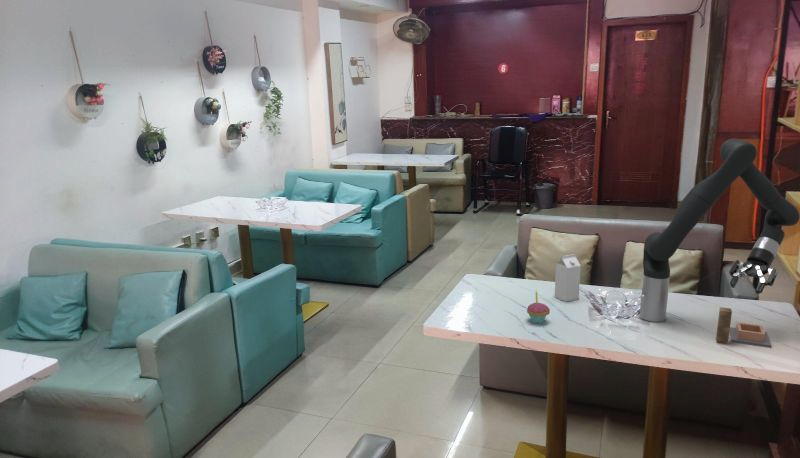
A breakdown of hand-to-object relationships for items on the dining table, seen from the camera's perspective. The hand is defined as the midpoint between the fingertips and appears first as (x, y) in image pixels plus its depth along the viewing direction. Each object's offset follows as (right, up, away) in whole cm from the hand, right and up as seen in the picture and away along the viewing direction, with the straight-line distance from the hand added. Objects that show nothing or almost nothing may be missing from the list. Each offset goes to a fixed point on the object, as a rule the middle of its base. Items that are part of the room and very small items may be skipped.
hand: (744, 289), depth 213 cm
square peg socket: (+2, -17, 0) cm, 17 cm away
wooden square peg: (-9, -18, -2) cm, 20 cm away
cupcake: (-69, -14, +18) cm, 73 cm away
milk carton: (-52, -8, +41) cm, 66 cm away
